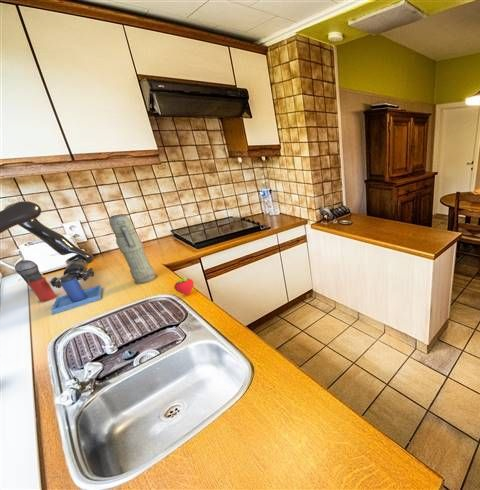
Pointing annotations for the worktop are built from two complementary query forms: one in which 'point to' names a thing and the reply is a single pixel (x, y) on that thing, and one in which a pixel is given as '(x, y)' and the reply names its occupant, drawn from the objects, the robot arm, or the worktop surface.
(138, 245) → the stone statue
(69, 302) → the blue tray
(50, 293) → the red bottle
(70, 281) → the blue bottle
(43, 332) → the worktop surface
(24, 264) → the beverage cup
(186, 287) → the strawberry
